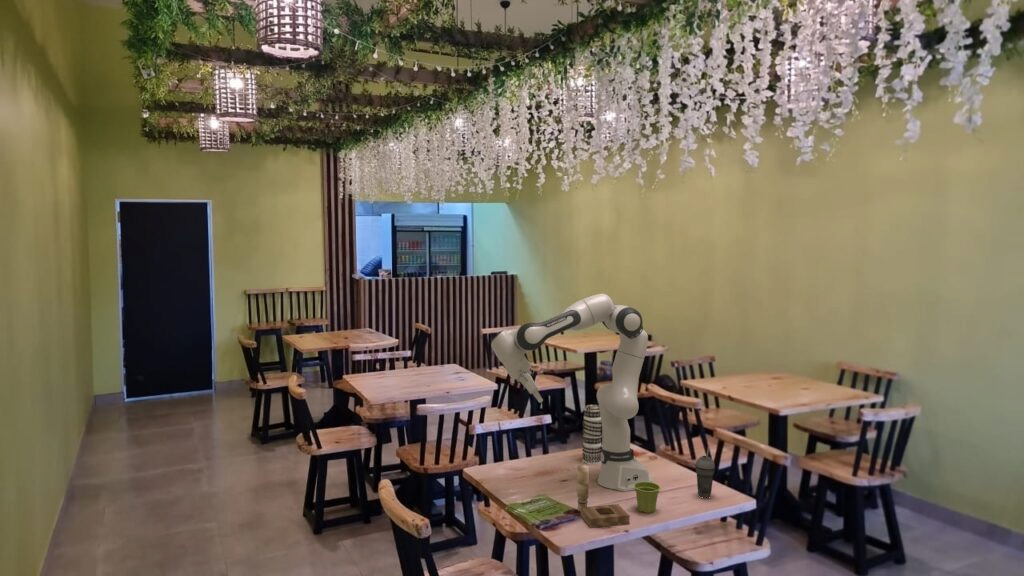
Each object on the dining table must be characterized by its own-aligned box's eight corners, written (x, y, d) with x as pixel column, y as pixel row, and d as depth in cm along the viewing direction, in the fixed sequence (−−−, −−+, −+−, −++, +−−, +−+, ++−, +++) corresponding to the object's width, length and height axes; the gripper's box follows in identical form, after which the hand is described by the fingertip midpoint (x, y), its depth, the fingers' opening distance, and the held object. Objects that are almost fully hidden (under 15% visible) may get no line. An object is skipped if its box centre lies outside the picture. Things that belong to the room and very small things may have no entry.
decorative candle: (605, 464, 278) (606, 407, 277) (585, 465, 277) (586, 408, 275) (598, 457, 287) (599, 402, 286) (579, 458, 286) (579, 403, 284)
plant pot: (664, 513, 227) (665, 489, 226) (641, 516, 224) (641, 492, 223) (651, 503, 236) (652, 480, 235) (628, 506, 233) (629, 482, 232)
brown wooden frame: (618, 512, 227) (618, 504, 227) (629, 524, 218) (629, 515, 217) (580, 515, 224) (580, 507, 224) (590, 527, 214) (590, 519, 214)
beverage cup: (700, 491, 248) (701, 440, 247) (717, 496, 243) (719, 445, 241) (690, 496, 243) (692, 444, 241) (708, 501, 237) (709, 449, 236)
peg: (585, 508, 231) (586, 464, 230) (589, 512, 227) (590, 468, 226) (575, 508, 230) (575, 465, 229) (579, 513, 226) (579, 469, 225)
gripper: (527, 365, 230) (549, 397, 229) (526, 365, 251) (546, 394, 249) (513, 375, 230) (534, 407, 229) (512, 374, 250) (532, 403, 249)
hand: (540, 400), depth 239 cm, fingers open, 8 cm apart
